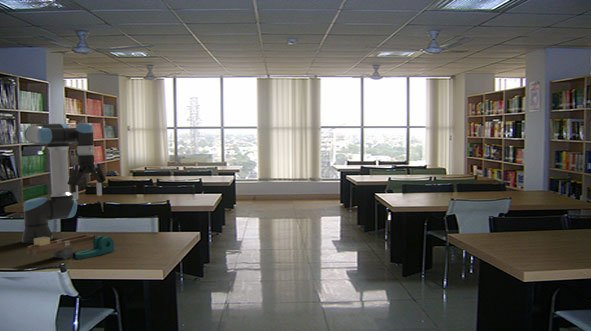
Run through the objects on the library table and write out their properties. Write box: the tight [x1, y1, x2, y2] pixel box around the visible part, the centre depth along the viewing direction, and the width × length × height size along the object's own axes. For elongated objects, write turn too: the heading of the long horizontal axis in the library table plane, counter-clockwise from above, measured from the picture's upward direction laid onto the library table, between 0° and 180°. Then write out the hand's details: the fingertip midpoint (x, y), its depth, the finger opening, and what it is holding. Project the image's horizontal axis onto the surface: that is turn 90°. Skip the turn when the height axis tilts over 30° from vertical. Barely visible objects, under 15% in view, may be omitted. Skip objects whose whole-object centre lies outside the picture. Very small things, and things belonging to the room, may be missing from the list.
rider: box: [33, 236, 51, 247], centre depth 224 cm, size 4×5×5 cm
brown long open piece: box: [26, 233, 96, 260], centre depth 233 cm, size 9×30×8 cm, turn 149°
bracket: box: [74, 235, 115, 260], centre depth 237 cm, size 18×7×8 cm, turn 146°
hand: (88, 197), depth 243 cm, fingers open, 13 cm apart
